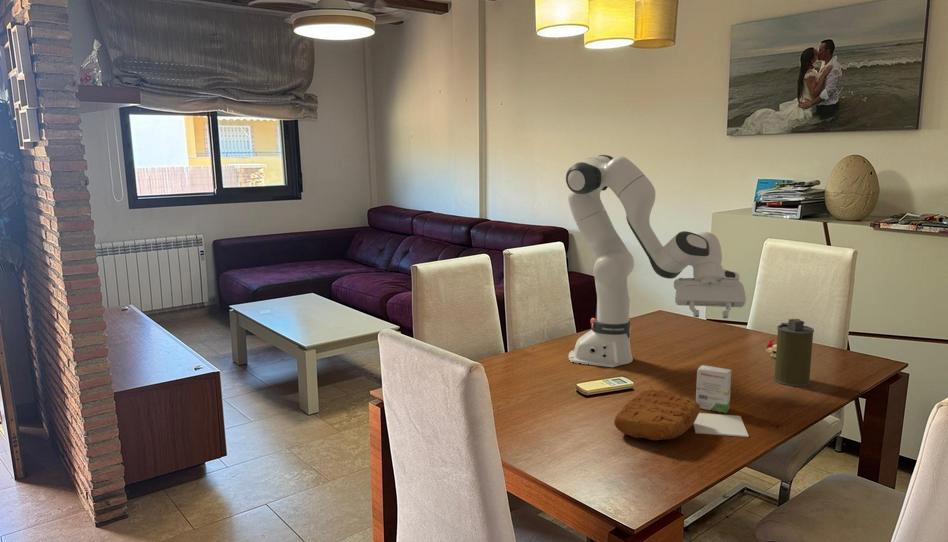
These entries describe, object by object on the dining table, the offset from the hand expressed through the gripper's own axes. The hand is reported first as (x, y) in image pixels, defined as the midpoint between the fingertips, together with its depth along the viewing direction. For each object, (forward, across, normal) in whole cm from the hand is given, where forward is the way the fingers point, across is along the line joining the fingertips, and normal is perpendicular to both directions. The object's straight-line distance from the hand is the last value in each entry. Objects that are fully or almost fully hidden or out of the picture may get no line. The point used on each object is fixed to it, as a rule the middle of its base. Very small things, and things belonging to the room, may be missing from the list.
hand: (710, 316), depth 193 cm
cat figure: (-16, +31, +49) cm, 60 cm away
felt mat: (+34, 0, -1) cm, 35 cm away
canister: (+6, +27, +27) cm, 39 cm away
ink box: (+26, 0, +7) cm, 27 cm away
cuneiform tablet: (+40, -16, -6) cm, 43 cm away
